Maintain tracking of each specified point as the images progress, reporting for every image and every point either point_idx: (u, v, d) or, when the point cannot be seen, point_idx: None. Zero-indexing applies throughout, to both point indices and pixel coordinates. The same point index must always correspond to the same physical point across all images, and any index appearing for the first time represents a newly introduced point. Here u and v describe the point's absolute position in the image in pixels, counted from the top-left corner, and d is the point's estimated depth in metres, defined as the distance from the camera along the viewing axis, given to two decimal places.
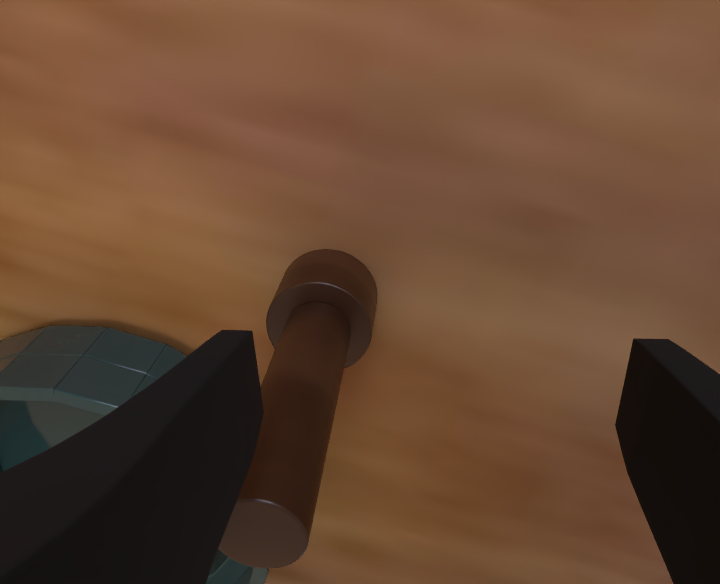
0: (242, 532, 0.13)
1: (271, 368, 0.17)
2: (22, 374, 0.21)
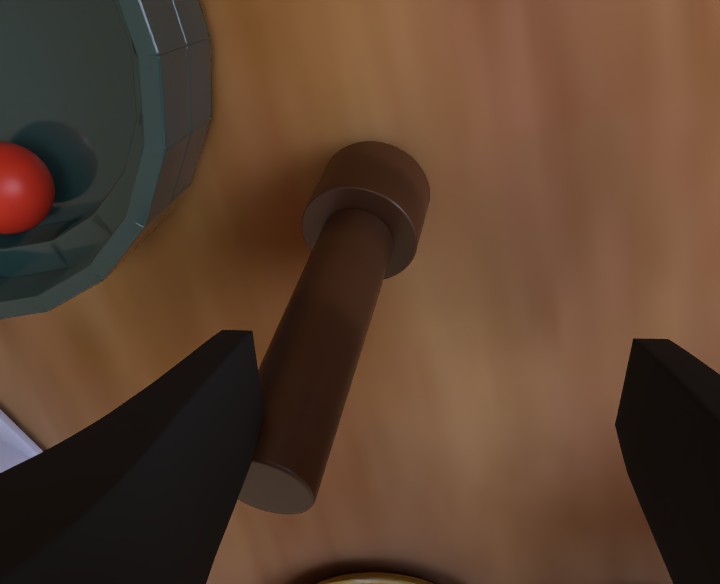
0: (256, 480, 0.12)
1: (336, 288, 0.15)
2: None
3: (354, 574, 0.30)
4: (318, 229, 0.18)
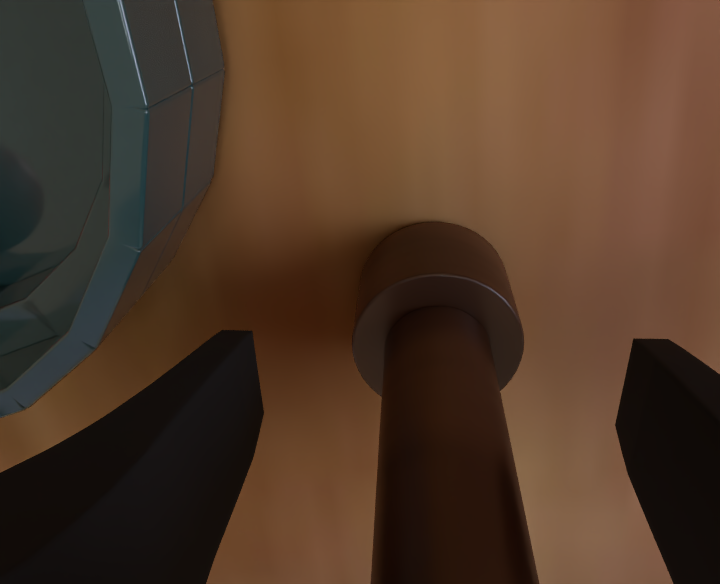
0: None
1: (479, 424, 0.09)
2: None
3: None
4: (379, 335, 0.13)
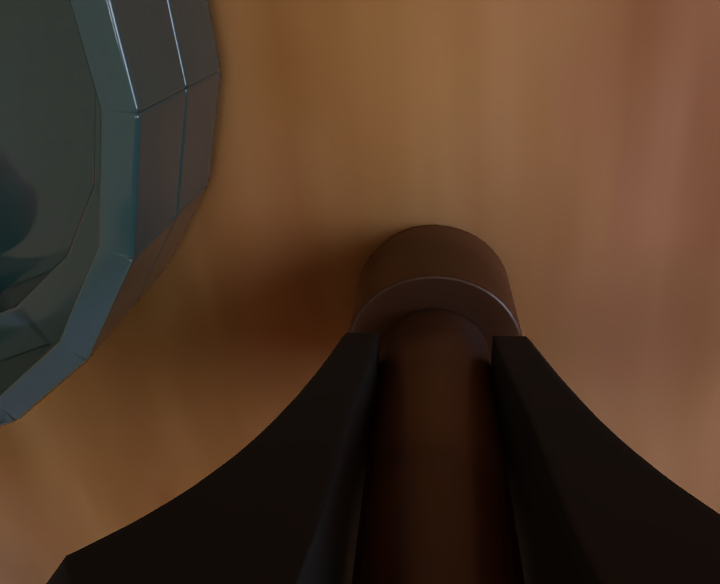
0: None
1: (470, 429, 0.09)
2: None
3: None
4: None
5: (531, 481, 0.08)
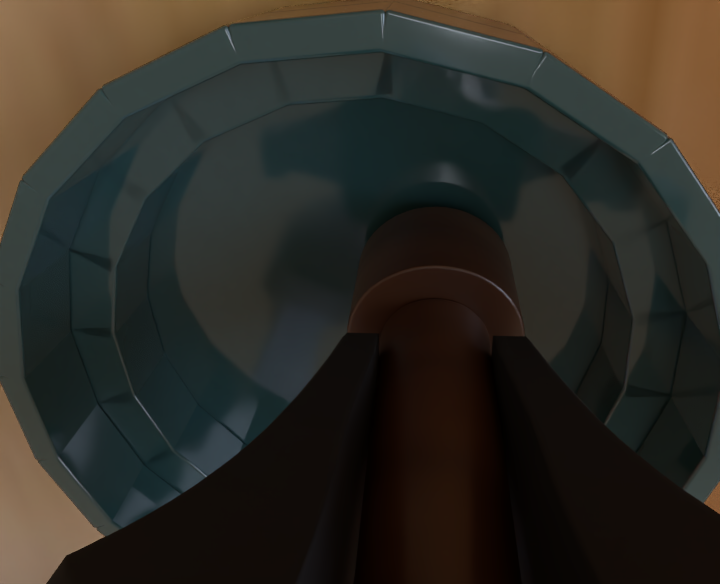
0: None
1: (484, 439, 0.09)
2: None
3: None
4: (380, 316, 0.12)
5: (531, 481, 0.08)
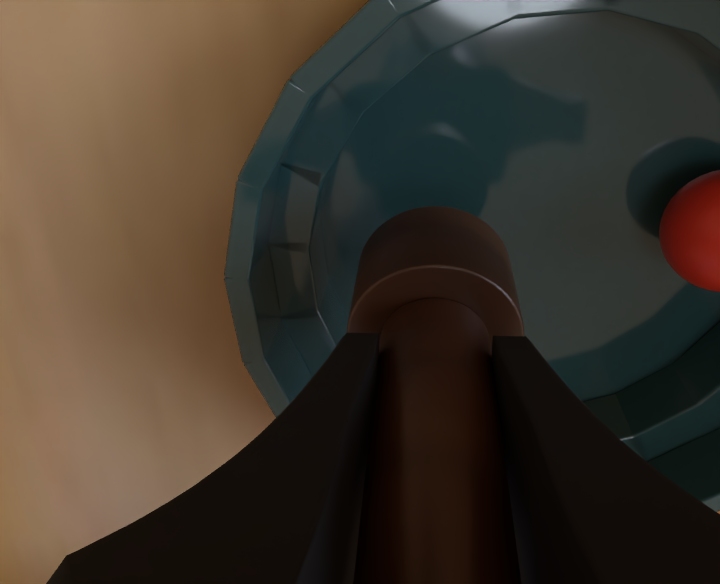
0: None
1: (484, 438, 0.09)
2: None
3: None
4: (380, 315, 0.12)
5: (531, 481, 0.08)
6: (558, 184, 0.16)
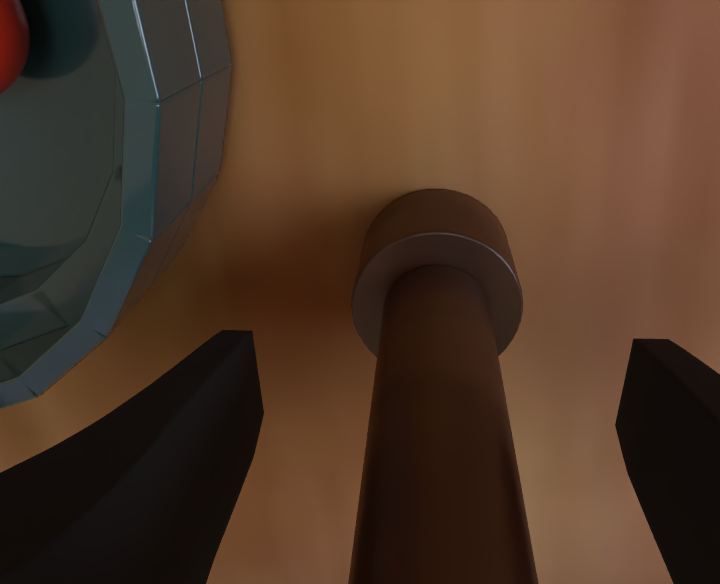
0: None
1: (485, 374, 0.09)
2: None
3: None
4: (383, 284, 0.13)
5: None
6: None
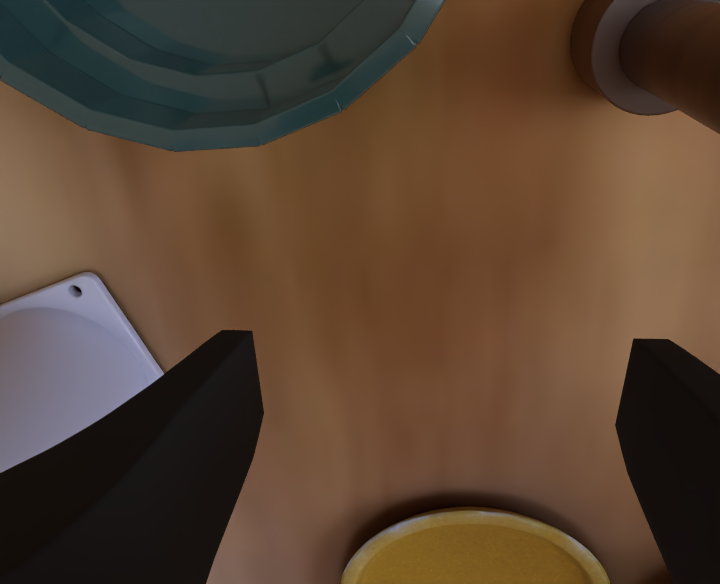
0: None
1: None
2: None
3: (469, 507, 0.27)
4: (623, 20, 0.15)
5: None
6: None
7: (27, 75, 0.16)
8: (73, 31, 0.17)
